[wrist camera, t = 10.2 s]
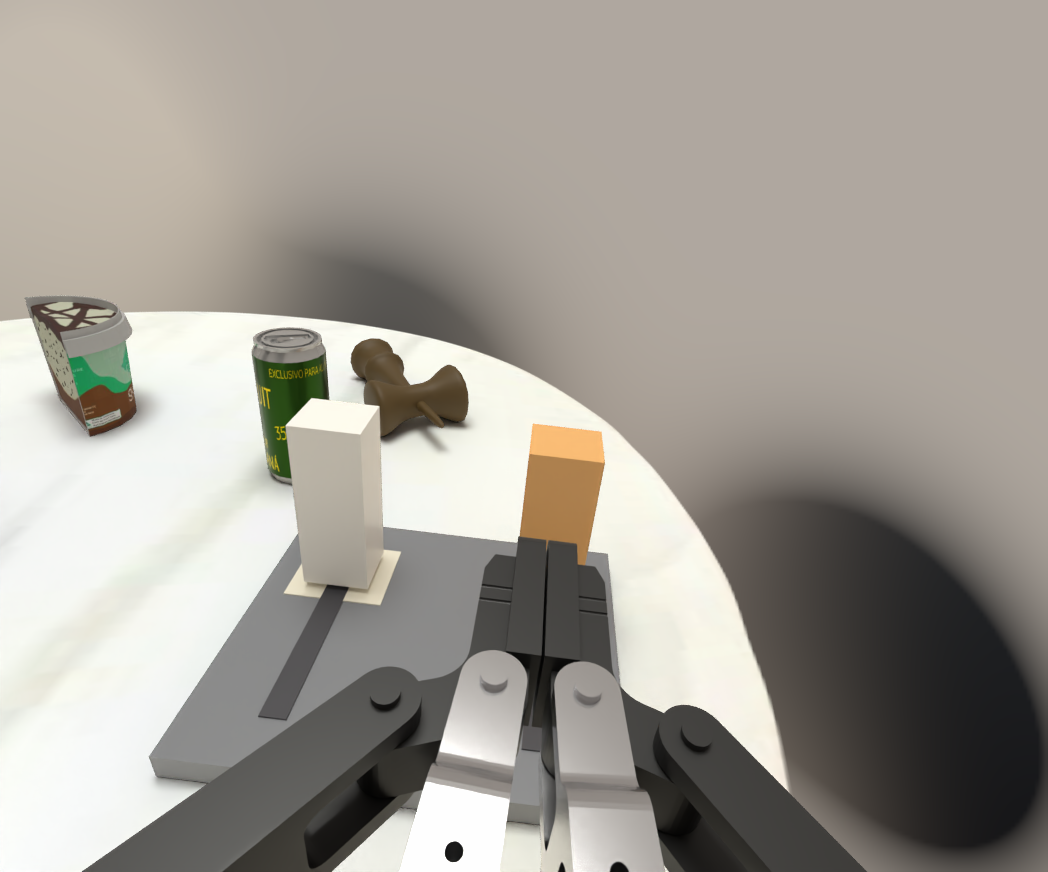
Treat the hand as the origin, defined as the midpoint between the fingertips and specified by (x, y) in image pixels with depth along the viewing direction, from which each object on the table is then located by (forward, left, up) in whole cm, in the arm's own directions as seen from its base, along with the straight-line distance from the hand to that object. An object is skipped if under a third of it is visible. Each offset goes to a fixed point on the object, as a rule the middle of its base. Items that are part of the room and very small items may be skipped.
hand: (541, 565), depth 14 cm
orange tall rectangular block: (-11, +12, -16) cm, 23 cm away
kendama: (-42, +17, -19) cm, 50 cm away
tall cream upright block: (-20, +2, -16) cm, 26 cm away
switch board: (-13, +4, -18) cm, 23 cm away
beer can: (-36, +4, -19) cm, 40 cm away
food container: (-55, -8, -19) cm, 58 cm away
